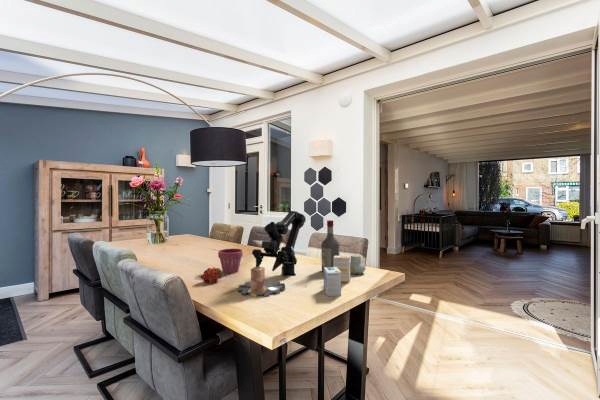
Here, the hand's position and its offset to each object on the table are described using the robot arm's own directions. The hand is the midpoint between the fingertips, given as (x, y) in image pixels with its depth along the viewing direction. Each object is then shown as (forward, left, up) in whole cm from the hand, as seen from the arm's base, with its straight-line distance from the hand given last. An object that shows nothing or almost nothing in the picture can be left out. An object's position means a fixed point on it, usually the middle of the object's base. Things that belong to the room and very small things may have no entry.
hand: (264, 269), depth 152 cm
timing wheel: (+2, 0, -9) cm, 9 cm away
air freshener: (-56, -3, -9) cm, 57 cm away
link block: (+5, +4, -8) cm, 10 cm away
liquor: (-45, -13, -9) cm, 48 cm away
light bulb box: (-26, +20, -9) cm, 34 cm away
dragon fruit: (+22, -23, -9) cm, 33 cm away
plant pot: (+8, -40, -9) cm, 42 cm away
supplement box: (-40, +7, -9) cm, 42 cm away
